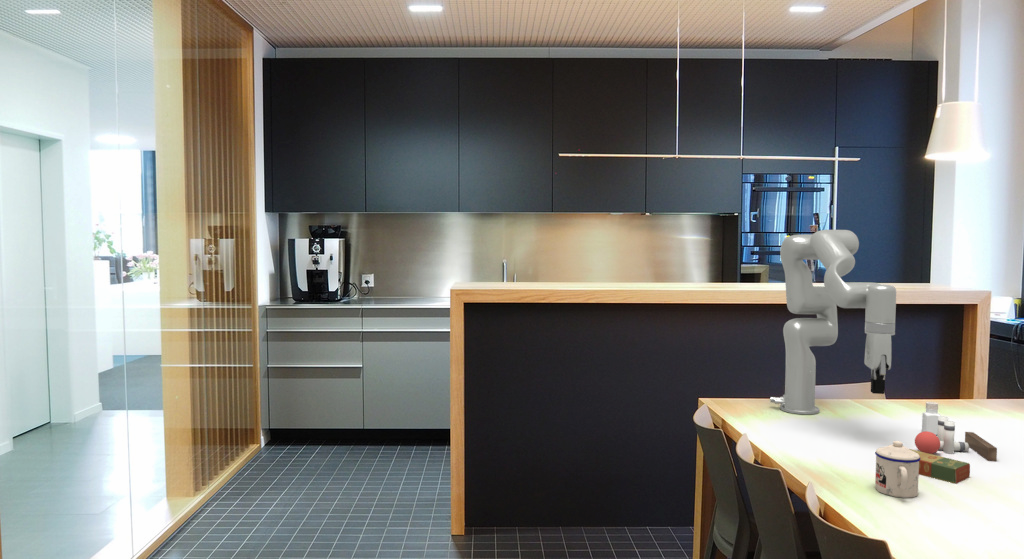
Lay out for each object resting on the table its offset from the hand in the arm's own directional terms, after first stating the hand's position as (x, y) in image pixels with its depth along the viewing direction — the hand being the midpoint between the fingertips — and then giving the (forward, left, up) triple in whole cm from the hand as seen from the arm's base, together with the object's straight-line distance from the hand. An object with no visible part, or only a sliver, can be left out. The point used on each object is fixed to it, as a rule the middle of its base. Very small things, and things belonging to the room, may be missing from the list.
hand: (877, 392), depth 196 cm
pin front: (+14, 0, -14) cm, 20 cm away
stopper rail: (+26, 0, -15) cm, 30 cm away
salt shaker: (+19, +17, -15) cm, 30 cm away
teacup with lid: (-5, -41, -15) cm, 44 cm away
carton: (+7, -22, -16) cm, 28 cm away
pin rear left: (+18, +2, -15) cm, 23 cm away
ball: (+12, -5, -12) cm, 17 cm away
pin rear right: (+18, -3, -15) cm, 23 cm away
